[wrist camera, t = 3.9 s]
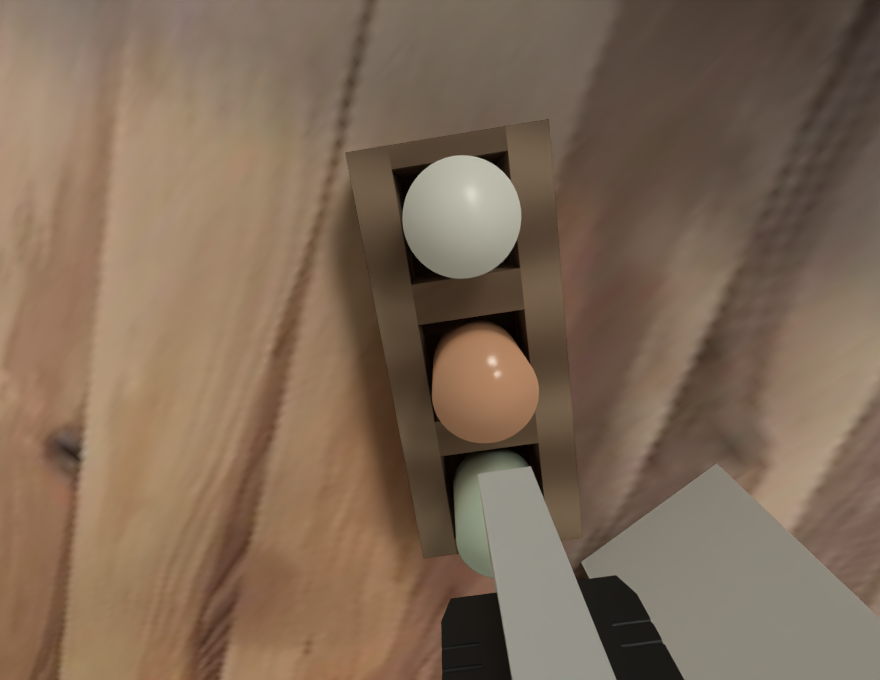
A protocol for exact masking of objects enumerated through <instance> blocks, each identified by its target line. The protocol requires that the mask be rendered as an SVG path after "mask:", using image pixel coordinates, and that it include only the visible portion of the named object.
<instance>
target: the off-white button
mask: <svg viewBox="0 0 880 680" xmlns="http://www.w3.org/2000/svg"><path fill="white" fill-rule="evenodd" d="M402 221H403V229H404V234H405V237H406V240H407V243H408V245H409V247H410V249H411V251H412V252H413V253H414V255H415V256H416V257H417V259H418V260H419V261H420V262H421V263H422V264H423V265H425V266H426V267H427V268H429V269H430V270H432V271H433V272H435V273H437V274H440V275H442V276H446V277H450V278H457V279H465V278H472V277H477V276H480V275H483V274H485V273H487V272H489V271H491V270H492V269H494V268H495V267H497V266H498V265H499V264H500V263H501V262H502V261H503V260H504V259H505V258H506V257H507V256H508V255H509V253H510V252H511V250H512V249H513V247H514V245H515V243H516V241H517V238H518V235H519V231H520V226H521V207H520V201H519V198H518V195H517V192H516V190H515V188H514V186H513V184H512V183H511V181H510V179H509V178H508V177H507V176H506V175H505V173H504V172H502V171H501V170H500V169H499V168H498V167H497V166H495V165H494V164H492V163H490V162H488V161H486V160H484V159H481V158H478V157H474V156H467V155H458V156H451V157H447V158H444V159H441V160H439V161H437V162H435V163H433V164H431V165H430V166H428V167H427V168H426V169H424V170H423V171H422V172H421V173H420V174H419V175H418V177H417V178H416V179H415V180H414V182H413V183H412V185H411V187H410V188H409V191H408V193H407V195H406V198H405V202H404V206H403V217H402Z"/></svg>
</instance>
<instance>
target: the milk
mask: <svg viewBox="0 0 880 680" xmlns="http://www.w3.org/2000/svg"><path fill="white" fill-rule="evenodd" d="M581 563H582V565H583V567H584V569H585V571H586V573H587V575H588V577H589V579H591V578H598V577H606V576H613V575H616V576H618V577H619V578H620V579H621V580H622V581H623V582H624V583H625V584H627V585H628V586H629V587H630V588H631V589H632V590H633V591H634V592H635V593H637V595H638V597H639V598H640V600H641V602H642V604H643V606H644V608H645V609H646V611H647V613H648V615H649V617H650V619H651V622H652V623H653V624H654V626H655V627H656V629H657V631H658V633H659V635H660V636H661V638H662V642H663V644H665V646H666V647H667V649H668V651H669V653H670V655H671V656H672V658H673V660H674V662H675V664H676V665H677V667H678V669H679V671H680V673H681V675H682V676H683V678H684V680H880V618H879V617H878V616H877V615H876V614H875V613H874V612H872V611H871V610H870V609H869V608H868V607H867V606H866V605H865V604H864V603H863V602H862V601H861V600H860V599H859V598H858V597H857V596H856V595H855V594H854V593H852V592H851V591H850V590H849V589H848V588H847V587H846V586H845V585H844V584H843V583H842V582H841V581H840V580H839V579H838V578H837V577H836V576H835V575H834V574H832V573H831V572H830V571H829V570H828V569H827V568H826V567H825V566H824V565H823V564H822V563H821V562H820V561H819V560H818V559H817V558H816V557H815V556H814V555H812V554H811V553H810V552H809V551H808V550H807V549H806V548H805V547H804V546H803V545H802V544H801V543H800V542H799V541H798V540H797V539H796V538H795V537H794V536H793V535H791V534H790V533H789V532H788V531H787V530H786V529H785V528H784V527H783V526H782V525H781V524H780V523H779V522H778V521H777V520H776V519H775V518H774V517H773V516H771V515H770V514H769V513H768V512H767V511H766V510H765V509H764V508H763V507H762V506H761V505H760V504H759V503H758V502H757V501H756V500H755V499H754V498H753V497H751V496H750V495H749V494H748V493H747V492H746V491H745V490H744V489H743V488H742V487H741V486H740V485H739V484H738V483H737V482H736V481H735V480H734V479H733V478H731V477H730V476H729V475H728V474H727V473H726V472H725V471H724V470H723V469H722V468H721V467H720V466H719V465H718V464H717V463H716V464H715V465H714V466H712V467H711V468H710V469H708V470H707V471H705V472H704V473H703V474H701V475H700V476H699V477H697V478H696V479H694V480H693V481H692V482H690V483H689V484H688V485H686V486H685V487H683V488H682V489H681V490H679V491H678V492H677V493H675V494H674V495H672V496H671V497H670V498H668V499H667V500H666V501H664V502H663V503H662V504H660V505H659V506H657V507H656V508H655V509H653V510H652V511H651V512H649V513H648V514H646V515H645V516H644V517H642V518H641V519H640V520H638V521H637V522H635V523H634V524H633V525H631V526H630V527H629V528H627V529H626V530H624V531H623V532H622V533H620V534H619V535H618V536H616V537H615V538H613V539H612V540H611V541H609V542H608V543H607V544H605V545H604V546H602V547H601V548H600V549H598V550H597V551H596V552H594V553H593V554H591V555H590V556H589V557H587V558H586V559H585V560H583V561H582V562H581Z"/></svg>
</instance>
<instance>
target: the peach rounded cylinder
mask: <svg viewBox="0 0 880 680" xmlns="http://www.w3.org/2000/svg"><path fill="white" fill-rule="evenodd" d="M538 399H539V385H538V380H537V377H536V374H535V372H534V370H533V368H532V367H531V365H530V364H529V362H528V361H527V359H526V357H525V356H524V354H523V353H522V351H521V350H520V348H519V347H518V345H517V344H516V342H515V341H514V339H513V338H512V336H511V335H510V334H509V333H508V332H507V331H506V330H505V329H504V328H502V327H500V326H499V325H497V324H495V323H492V322H489V321H484V320H471V321H466V322H463V323H460V324H458V325H456V326H454V327H453V328H451V329H450V330H448V331H447V332H446V333H445V334H444V335H443V337H442V338H441V339H440V341H439V342H438V344H437V346H436V349H435V352H434V358H433V382H432V402H433V406H434V410H435V412H436V415H437V417H438V418H439V420H440V422H441V423H442V424H443V425H444V427H445V428H446V429H447V430H449V431H450V432H451V433H452V434H454V435H456V436H457V437H459V438H461V439H464V440H466V441H470V442H474V443H494V442H499V441H502V440H505V439H507V438H509V437H511V436H513V435H515V434H516V433H518V432H519V431H520V430H521V429H523V428H524V426H525V425H526V424H527V423H528V422H529V421H530V419H531V418H532V416H533V414H534V412H535V410H536V407H537V404H538Z"/></svg>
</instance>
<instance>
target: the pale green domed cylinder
mask: <svg viewBox="0 0 880 680" xmlns="http://www.w3.org/2000/svg"><path fill="white" fill-rule="evenodd" d="M522 467H529V465H528V463H527V462H526V461H525V460H524V458H523V457H521V456H520V455H519V454H517V453H516V452H514V451H512V450H509V449H506V448H497V449H490V450H483V451H475V452H473V453H471V454H469V455H468V456H467V457H465V458H464V459H463V460H462V461H461V463H460V464H459V465H458V467H457V469H456V471H455V474H454V478H453V492H454V510H455V528H456V544H457V549H458V552H459V554H460V556H461V558H462V559H463V561H464V562H465V563H466V564H467V565H468V566H469V567H470V568H471V569H472V570H474V571H475V572H477V573H479V574H481V575H483V576H486V577H490V578H493V574H492V568H491V562H490V556H489V549H488V543H487V536H486V529H485V522H484V515H483V508H482V502H481V495H480V488H479V481H478V474H480V473H487V472H494V471H501V470H508V469H515V468H522Z"/></svg>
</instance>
